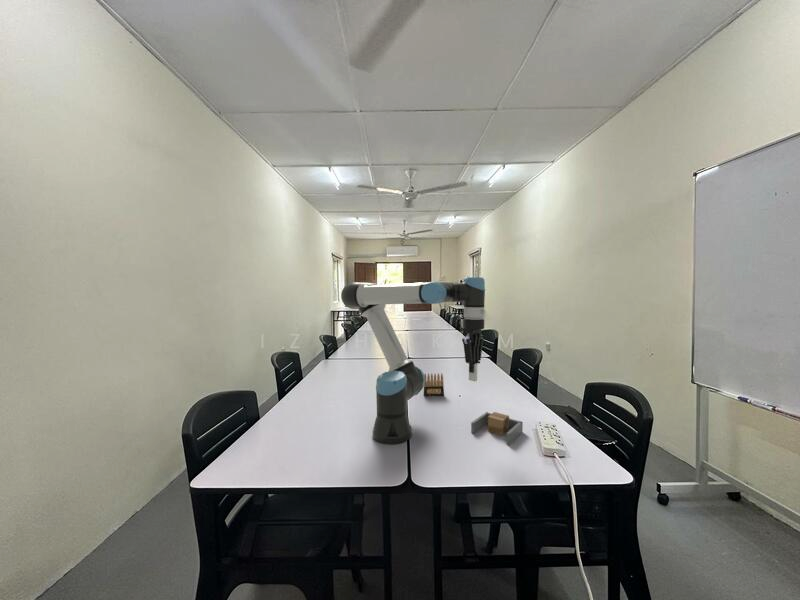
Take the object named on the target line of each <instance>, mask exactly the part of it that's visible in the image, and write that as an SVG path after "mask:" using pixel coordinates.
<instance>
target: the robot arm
mask: <svg viewBox="0 0 800 600" xmlns="http://www.w3.org/2000/svg"><path fill="white" fill-rule="evenodd" d="M485 282H486V281H485V278H484V277H479V276H471V277H469V276H466V277H464V280H463V281H462V282H447V281H445V282H443V281H442V282H440V281H429V282H413V283H410V282H409V283H394V284H392V283H391V284H378V283H374V282H369V281H368V282H367V281H366V282H361V281H360V282H356V281H355V282H354V281H353V282H349V283H347V284H345V286H344V287H343V288H342V290H341V293H340V299H341V301H342V304H343V305H344V306H345V307H347V309H351V310H359V312H360V314H361V316H362V317H364V318H366V320H367V321H368V324H369V326H370V329H371V330H372V333H373V334H374V337H375V339H376V341H377V343H378V345H379V348H380V350H381V353H382V354H383V356H384V358H385V360H386V362H387V366H388V370H387V371H385V372H382V373H381V374H380V375H378V376H377V378H376V384H375V390H376V392H375V394H376V395H375V396H376V416H375V421H374V424H373V427H372V438H373V440H375V441H376V442H378V443H380V444H385V445H397V444H402V443H405V442H407V441H409V440H410V439H411V438H412V435H413V432H412V431H413V429H412V426H411V424H410V420H409V416H408V404H407V403H408V401H409V400H411V399H412V398H413V397H415V396H417V395H418V394H419V393H420V392H421V391H422V390H424V384H425V376H424V375H425V372H424V371H423V370H422V369H421V368H420V367H418V366H416V365H415V363H414V361H413V360H412V359H410V358H408V357H407V355H406V352H405V350H404V348H403V346H402V344H401V342H400V340H399V338H398V336H397V333H396V331H395V329H394V328H393V325H392V323H391V321H390V319H389V317H388V315H387V313H386V311H385V308H386V306H387V305H407V304H408V305H411V304H413V305H414V304H431V305H433V304H434V305H438V304H440V303H463V317H464V319H463V329H465V330H466V333H465V338H464V337H463V338H462V339H461V342H462V343H463V351H464V359H465V363H467V364H468V380H469V381H471V382H477V381H478V364H481V359H482V354H483V353H482V352H483V345H484V340H485V334H484V335H483V334H482V330H484V329H485V319H484V318H485V312H486V310H485V302H486V301H485V299H486V297H485V296H486V286H485V285H486V283H485Z"/></svg>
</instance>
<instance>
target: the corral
mask: <svg viewBox="0 0 800 600" xmlns="http://www.w3.org/2000/svg"><path fill="white" fill-rule="evenodd" d="M491 414H492V413H490V412H487V411H486V412H484V413H483V414H481V415H480V416H478V417H477V418H475V419H474V420H473V421H471V423H470V426H471V427H470V428H471V429H470V430H471V431H470V433H472V434H475V433H476V432H477V431H479V430H480V429H482V428H483V427H485V426H486V425H488V416H489V415H491ZM523 425H524V424H523V421H521V420H518V419H514V418H510V417H509V431H508V432H507V433H506V434H505V435H506V445H508V446H510V445H511V444H512V443H513V442H514V441H516V439H517V438H518V437H519V436H520V435H522V433H523V427H524V426H523Z"/></svg>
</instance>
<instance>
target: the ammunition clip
mask: <svg viewBox="0 0 800 600" xmlns="http://www.w3.org/2000/svg"><path fill="white" fill-rule="evenodd" d="M433 375H434V376H433ZM424 376H425V384H424V387H423V397H444V396H445V389H444V387H445V386H444V375H443V373H442V372H441V374H440V373H434V374H433V373H430V374H429V373H427V374H426V373H424Z"/></svg>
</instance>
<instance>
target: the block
mask: <svg viewBox="0 0 800 600" xmlns="http://www.w3.org/2000/svg"><path fill="white" fill-rule="evenodd" d="M509 418H510V415H509V414H504V413H500V412H497V411H493V412H492V413H491V415H489V416H488V423H487V432H489V433H492V434H495V435H499V436H502V437H504V436H505V435H507V434H506V433H507V432H508V431H510V429H509Z"/></svg>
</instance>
